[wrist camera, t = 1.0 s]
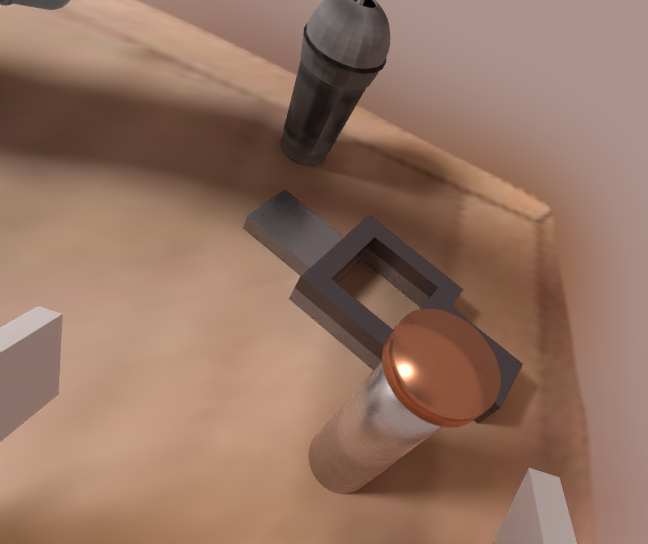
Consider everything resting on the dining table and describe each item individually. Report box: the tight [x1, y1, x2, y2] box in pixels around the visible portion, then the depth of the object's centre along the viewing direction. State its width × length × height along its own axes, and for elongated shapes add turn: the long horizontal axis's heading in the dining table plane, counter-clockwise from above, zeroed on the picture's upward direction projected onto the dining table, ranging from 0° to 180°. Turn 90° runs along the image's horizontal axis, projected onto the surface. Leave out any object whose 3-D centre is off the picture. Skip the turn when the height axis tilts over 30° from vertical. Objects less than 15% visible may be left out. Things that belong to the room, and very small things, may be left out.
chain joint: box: [243, 190, 523, 423], centre depth 44 cm, size 24×10×3 cm, turn 53°
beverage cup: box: [281, 0, 390, 166], centre depth 46 cm, size 7×7×20 cm
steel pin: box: [309, 309, 501, 494], centre depth 31 cm, size 6×6×14 cm
